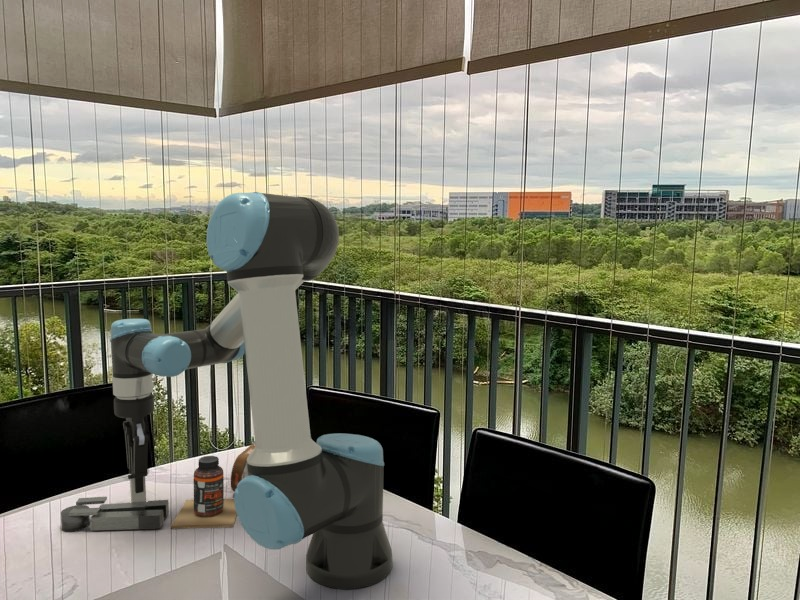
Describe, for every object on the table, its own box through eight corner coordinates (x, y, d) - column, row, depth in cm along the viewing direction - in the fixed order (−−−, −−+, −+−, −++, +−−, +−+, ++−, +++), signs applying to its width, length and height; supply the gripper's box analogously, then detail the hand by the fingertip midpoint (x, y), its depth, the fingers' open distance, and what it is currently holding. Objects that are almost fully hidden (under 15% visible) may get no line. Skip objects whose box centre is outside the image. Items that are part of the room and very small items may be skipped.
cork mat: (232, 526, 120) (232, 524, 120) (170, 528, 119) (170, 525, 119) (242, 501, 132) (242, 498, 132) (186, 502, 131) (186, 500, 131)
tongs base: (159, 530, 119) (159, 511, 118) (55, 533, 117) (54, 514, 116) (167, 517, 124) (167, 499, 124) (68, 520, 122) (67, 501, 122)
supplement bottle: (205, 520, 122) (204, 466, 120) (188, 512, 125) (186, 459, 124) (229, 510, 126) (229, 458, 125) (212, 502, 130) (211, 451, 129)
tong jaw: (76, 523, 120) (75, 503, 120) (80, 517, 123) (79, 497, 122) (166, 517, 123) (165, 497, 123) (168, 512, 126) (168, 492, 125)
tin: (254, 472, 149) (254, 439, 148) (266, 473, 148) (266, 440, 148) (229, 498, 134) (228, 461, 133) (242, 499, 134) (242, 462, 133)
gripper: (160, 399, 120) (165, 512, 123) (146, 385, 131) (150, 490, 133) (119, 405, 116) (125, 522, 118) (108, 390, 126) (113, 498, 129)
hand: (138, 505), depth 126 cm, fingers closed
